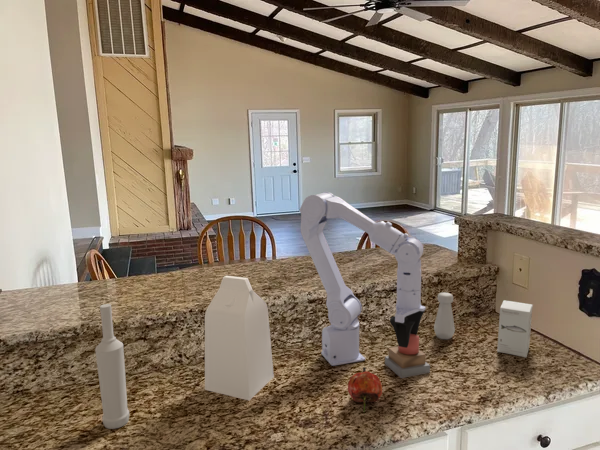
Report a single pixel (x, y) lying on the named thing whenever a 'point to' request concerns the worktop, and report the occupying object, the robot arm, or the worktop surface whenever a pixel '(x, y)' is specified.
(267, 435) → the worktop surface
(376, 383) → the red apple
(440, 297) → the salt shaker
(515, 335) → the supplement box
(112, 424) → the bottle
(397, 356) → the tower top block
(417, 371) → the tower base block
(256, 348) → the milk
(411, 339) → the red rounded block
